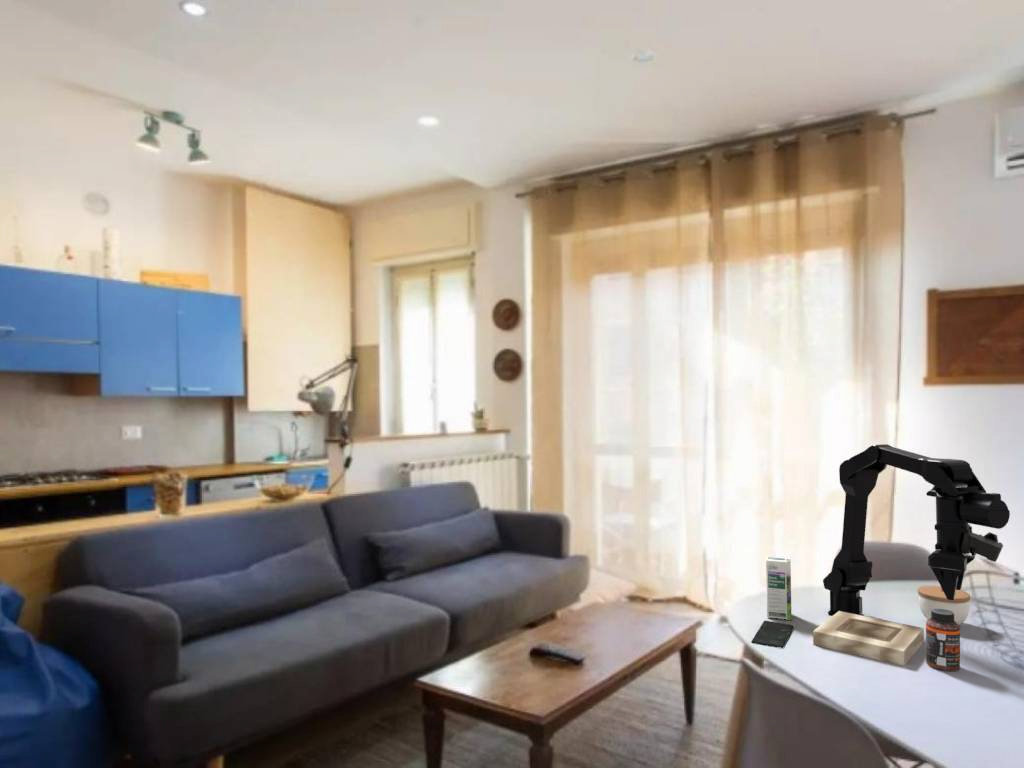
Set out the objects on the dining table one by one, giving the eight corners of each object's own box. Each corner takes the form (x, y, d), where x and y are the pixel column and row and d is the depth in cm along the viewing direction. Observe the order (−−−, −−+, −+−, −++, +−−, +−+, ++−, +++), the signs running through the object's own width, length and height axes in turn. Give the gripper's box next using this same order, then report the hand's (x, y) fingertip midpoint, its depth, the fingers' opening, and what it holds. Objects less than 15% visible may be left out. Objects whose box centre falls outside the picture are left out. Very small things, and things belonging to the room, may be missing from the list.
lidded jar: (917, 613, 171) (917, 576, 171) (968, 620, 166) (968, 582, 166) (918, 627, 162) (917, 587, 162) (972, 634, 157) (971, 594, 157)
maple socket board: (813, 644, 152) (813, 630, 152) (839, 623, 165) (838, 610, 165) (903, 665, 140) (903, 651, 140) (924, 641, 153) (923, 627, 153)
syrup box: (766, 618, 169) (766, 560, 169) (767, 611, 175) (766, 554, 175) (791, 621, 167) (790, 562, 167) (791, 613, 173) (790, 556, 173)
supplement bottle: (949, 674, 135) (948, 617, 135) (919, 664, 141) (918, 609, 141) (966, 668, 138) (965, 612, 138) (937, 658, 143) (936, 604, 143)
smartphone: (751, 640, 153) (764, 619, 166) (751, 645, 153) (764, 624, 166) (783, 646, 150) (794, 624, 163) (783, 651, 150) (794, 629, 163)
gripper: (993, 531, 130) (996, 613, 130) (1003, 517, 145) (1005, 591, 144) (926, 525, 138) (928, 602, 138) (942, 512, 152) (944, 582, 152)
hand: (954, 594), depth 143 cm, fingers open, 9 cm apart
